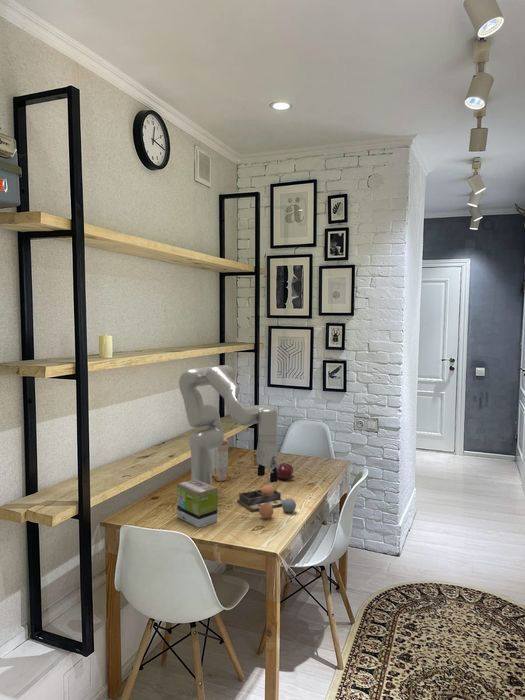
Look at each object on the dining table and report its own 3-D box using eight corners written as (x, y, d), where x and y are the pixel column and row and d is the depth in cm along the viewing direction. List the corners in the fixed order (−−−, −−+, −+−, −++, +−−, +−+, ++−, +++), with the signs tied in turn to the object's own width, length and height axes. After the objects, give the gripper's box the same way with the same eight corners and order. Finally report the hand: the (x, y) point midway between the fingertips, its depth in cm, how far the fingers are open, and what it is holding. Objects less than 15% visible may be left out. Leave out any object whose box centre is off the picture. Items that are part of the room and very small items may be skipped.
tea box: (176, 517, 219) (176, 482, 218) (195, 511, 226) (195, 477, 225) (198, 528, 208) (198, 492, 207) (218, 522, 215) (218, 486, 214)
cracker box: (228, 480, 269) (228, 440, 268) (216, 482, 267) (217, 441, 265) (220, 473, 282) (220, 434, 281) (209, 474, 280) (209, 435, 278)
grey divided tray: (252, 512, 226) (252, 502, 226) (237, 502, 238) (237, 493, 238) (287, 505, 235) (287, 496, 235) (270, 495, 247) (271, 487, 247)
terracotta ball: (263, 521, 216) (263, 507, 216) (256, 516, 221) (256, 502, 221) (276, 519, 219) (276, 504, 219) (268, 514, 224) (268, 500, 224)
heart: (271, 479, 269) (290, 483, 268) (274, 464, 269) (293, 468, 268) (274, 473, 281) (292, 476, 280) (276, 459, 281) (294, 462, 280)
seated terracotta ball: (265, 501, 236) (265, 488, 236) (258, 497, 241) (258, 484, 241) (276, 499, 239) (276, 486, 239) (269, 495, 245) (269, 482, 244)
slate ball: (286, 515, 223) (287, 501, 223) (279, 511, 228) (279, 497, 228) (298, 513, 226) (298, 499, 226) (290, 508, 231) (290, 495, 231)
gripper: (249, 435, 224) (249, 474, 225) (271, 443, 209) (270, 485, 210) (264, 433, 228) (264, 472, 229) (287, 441, 213) (286, 483, 214)
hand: (267, 478), depth 220 cm, fingers open, 9 cm apart
